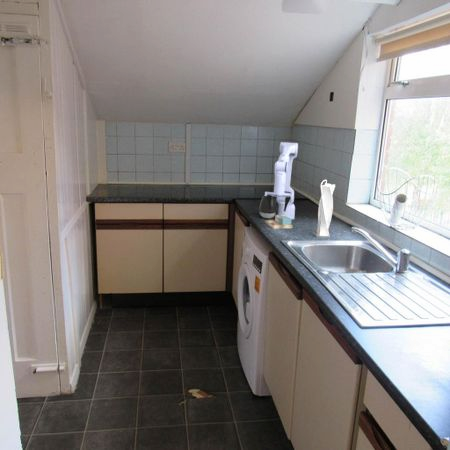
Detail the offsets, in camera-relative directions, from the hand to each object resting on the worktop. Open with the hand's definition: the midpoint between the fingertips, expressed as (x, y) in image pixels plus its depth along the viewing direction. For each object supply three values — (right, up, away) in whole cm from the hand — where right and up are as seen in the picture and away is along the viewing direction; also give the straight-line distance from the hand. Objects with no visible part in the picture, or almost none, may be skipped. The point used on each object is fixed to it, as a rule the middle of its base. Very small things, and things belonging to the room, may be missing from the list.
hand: (277, 210), depth 229 cm
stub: (+5, -7, +8) cm, 12 cm away
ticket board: (+2, -8, +9) cm, 12 cm away
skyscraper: (+22, -13, -7) cm, 26 cm away
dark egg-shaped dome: (-3, -3, +28) cm, 28 cm away
